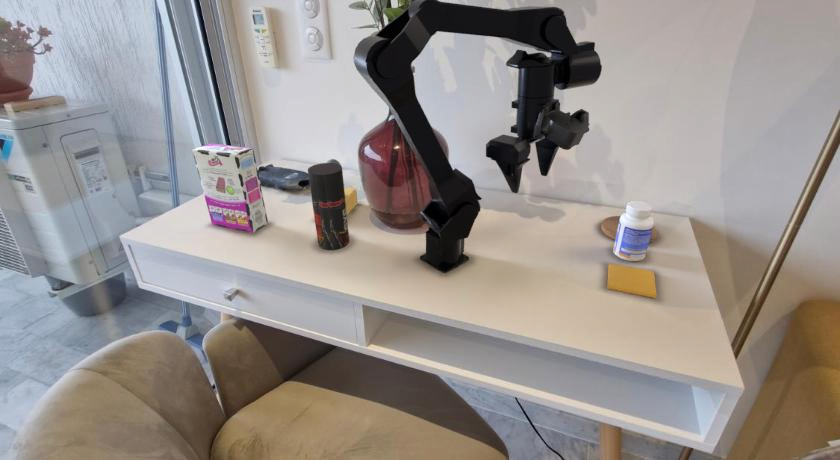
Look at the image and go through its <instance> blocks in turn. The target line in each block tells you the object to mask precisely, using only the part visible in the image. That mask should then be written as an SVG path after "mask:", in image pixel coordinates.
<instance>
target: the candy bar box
mask: <svg viewBox="0 0 840 460" xmlns="http://www.w3.org/2000/svg"><path fill="white" fill-rule="evenodd" d="M191 151H192V155H193V159H194V163H195V166H196V170H197V174H198V177H199V181H200V184H201V188H202V191H203V196H204V199H205V203H206V207H207V211H208V213H209V219H210V221H211V225H212V226H214V227H215V226H216V227H220V228H226V229H230V230H235V231H240V232H245V233H251V234H255V233H257V232H258V231H259V230H261V229H263V228H264V227H266V226H267V225H268V224H269V220H268V219H269V218H268V215H267V210H266V204H265V201H264V195H263V194H264V193H263V189H262V184H260V180H259V175H258V170H257V169H258V166H257V159H256V156H255V151H254V148H253V147H244V146H237V145H228V144H220V143H207V144H204V145H201V146H198V147H195V148H193V149H191Z"/></svg>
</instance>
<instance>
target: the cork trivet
mask: <svg viewBox="0 0 840 460" xmlns="http://www.w3.org/2000/svg"><path fill="white" fill-rule="evenodd" d="M620 217H621V215H614V216H609V217H606V218H604V219H603V220H602V222H601V225H600V229H601V232H602V233H603V234H604V235H606V236H607V237H608V238H611V239H612V240H614V241H615V239H616V234H617V230H618V225H619V220H620ZM657 235H658V230H657V228H656V227H655V226H654V225H653V229H652V233H651V237H650V240H649V244H650V243H653V242H654V241H655V240H656V238H657Z"/></svg>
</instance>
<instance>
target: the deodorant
mask: <svg viewBox="0 0 840 460" xmlns="http://www.w3.org/2000/svg"><path fill="white" fill-rule="evenodd" d="M307 173H308V176H309V183H310V185H309V188H310V189H309V190H310V196H311V197H310V198H311V203H312V210H313V217H314V224H315V231H316V238H317V245H318V248H320V249H321V250H324V251H338V250H341V249H344V248H346V247H347V246H348V245H349V244H350V233H349V223H348V222H349V221H348V215H347V212H346V202H345V192H344V188H345V183H344V182H345V181H344V175H343V166H342V165H339V164H335V163H327V162H323V163H316V164H314V165H311V166H309V167H308V168H307Z"/></svg>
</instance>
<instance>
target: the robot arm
mask: <svg viewBox="0 0 840 460" xmlns="http://www.w3.org/2000/svg"><path fill="white" fill-rule="evenodd" d="M437 32H440V33H449V34H461V35H471V36H482V37H492V38H499V39H501V40H503V41H505V42H508V43H512V44H514V45H516V46H520V47H523V48H529V49H534V50H535V51H538V52H532V53H528V52H527V50H523V49H516V51H515V53H514V54H513V55H512V56H511V57H510V58H509V59H508V60H506V62H505V66H506V67H509V68H512V69H513V68H514V69H517V70H518V71H517V72H518V74H517V95H516V99H515V100H513V101H511V106H510V107H511V109H515V110H516V119H515V124H513V125H511V126H510V133H512V134H516V136H512V135H507V134H501V135H498V136H496V137H494V138H491V139H489V141H487V143H486V144H485V157H486V158H488V159H490V160H491V161H494V162H495V163H496V164H497V166H498V168H499V170H500V172H501V173H502V175H503V177H504V179H505V182H506V183H507V185H508V187H509V189H510V191H511V193H514V194H518V193H519V191H520V186H521V180H522V174H523V167H524V166H525V165H526V164H527V163H528V162H530V161H531V158H529V156H530V154H531V150H532V149H531V148H532V145H533V144H535V151H536V158H537V163H538V168H539V172H540V175H541V176H543V177H547V176H548V175H549V172H550V169H551V167H552V165H553V163H554V161H555V158H556V156H557V153H558V151H559V149H562V150H565V151H569V150H571V149H572V148H574V147H575V146H578V145H580V144H581V142H582V140H583V137H584V136H585V134H587V133H588V132H589V131H590V127H589V126H590V125H591V124H590V114H589V111H587V110H585V109H583V108H581V109H578V110H576V111H574V112H573V113H572V114H571V112H570V111H568V112H564V111H562V110H561V102H560V99H557V98H555V90H556V89H557V90H558V91H559V90H560V91H564V90H570V89H576V88H582V87H588V86H592V85H594V84H596V83H597V81H598V80H599V79H600V77H601V73H602V70H603V65H602V63H601V59H600V55H599V53H598V52H597V51H596V50H595V49H596V48H595V47H596V43H595V41H588V40H584V41H580V42H576V40H575V38H574V36H573V34H572V32H571V30H570V28H569V26H568V22H567V17H566V15H565V11H564V10H563V9H562V8H560V7H557V6H539V5H538V6H535V5H531V6H530V5H528V6H521V7H511V8H504V9H501V8H493V7H486V6H479V5H478V6H477V5H469V4H463V3H453V2H446V1H440V0H413V1H412V2H411V3H410V4H409V6H408V7H407V8H406V9H405V10H403V12H401V13H400V14H399V15H397V16H396V17H394V19H392V20H390V21H389V22H388V23H387V24H386V25H384V26H383V27H381V29H380V30H379V31H377V32H376V34H375V35H369V36H367V37H364V38H362V39H361V40H360V41H359V42H358V43H357V46H355V49H354V53H353V64H354V66H355V68H356V71H357V72H358V74H360V76H361V77H362V78H363V79H364V80H365V82H366V83H367V84H368V85H369V87H370V88H371V89H372V90H373V91H374V92H375V93H376V95H378V97H379V98H380V99H381V100H382V101H383V103H385V105H386V106H387V107H388V109H389V111H390V113H391V114H392V116H393V117H394V119H395V122H396V123H397V125H398V128H399V129H400V130H401V132H402V134H403V136H404V138H405V140H406V141H407V143H408V145H409V147H410V149H411V151H412V152H413V154H414V156H415V158H416V159H417V161H418V163H419V165H420V166H421V168H422V170H423V173H424V174H425V176H426V178H427V181H428V191H429V195H430V197H431V199H430V201H428V202H427V204H426V205H425V206H424V207H423V209H421V210H420V212H419V213H420V216H421V219H422V221H423V223H425V224H426V225H427V226H428V230H426V231H425V253H424V254H421V255H420V256H419V260H420V261H422V262H424V263H425V264H427V265H429V266H431V267H432V268H433V269H435V270H437V271H439V272H441V273H443V274H446V273H449V272H450V271H452V270H454V269H457V268H458V267H460V266H461V265H463V264H465V263H467V262H469V261H470V256H468V255H466V254H465V239H467V238H468V239H469V236H470V234H471V232H472V228H473V226H474V223H475V221H476V219H477V217H478V216H479V213H480V212H481V203H480V201H481V200H483V199H482V198H483V197H481V196H480V195H479V194H478V192H477V190H476V187H475V183H474V181H473V179H472V178H470V177H469V176H467V175H466V174H464V173H463V172H462V171H460V170H459V169H458V168H453V167H452V164H451V163H450V161H449V159H448V157H447V155H446V153H445V151H444V149H443V147H442V145H441V143H440V141H439V139H438V136H436V133H435V131H434V129H433V127H432V125H431V123H430V121H429V119H428V117H427V115H426V113H425V111H424V109H423V107H422V105H421V104H420V102H419V99H418V97H417V94H416V93H417V92H416V83H415V75H414V72H413V69H412V65H411V64H412V63H413V62H414V61H415V60H416V59H417V58H418V57H419V56H420V55H421V54H422V52H423V51H424V49H425V47H426V46H427V44H428V43H429V41H430V40H431V38H432V37H433V36H434V35H435V34H436V33H437ZM545 53H548V54H550V56H547V55H546V54H545ZM555 88H556V89H555Z"/></svg>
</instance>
